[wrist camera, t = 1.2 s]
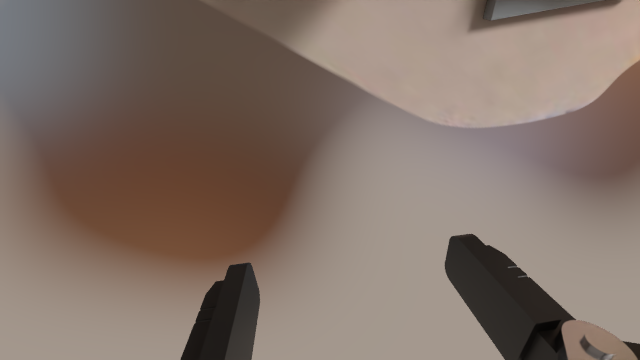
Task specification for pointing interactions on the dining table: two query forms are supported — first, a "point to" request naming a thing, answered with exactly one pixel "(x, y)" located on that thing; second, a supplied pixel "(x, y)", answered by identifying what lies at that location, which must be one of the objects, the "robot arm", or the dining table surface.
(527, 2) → the stacking base
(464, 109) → the dining table surface
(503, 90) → the dining table surface
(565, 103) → the dining table surface
